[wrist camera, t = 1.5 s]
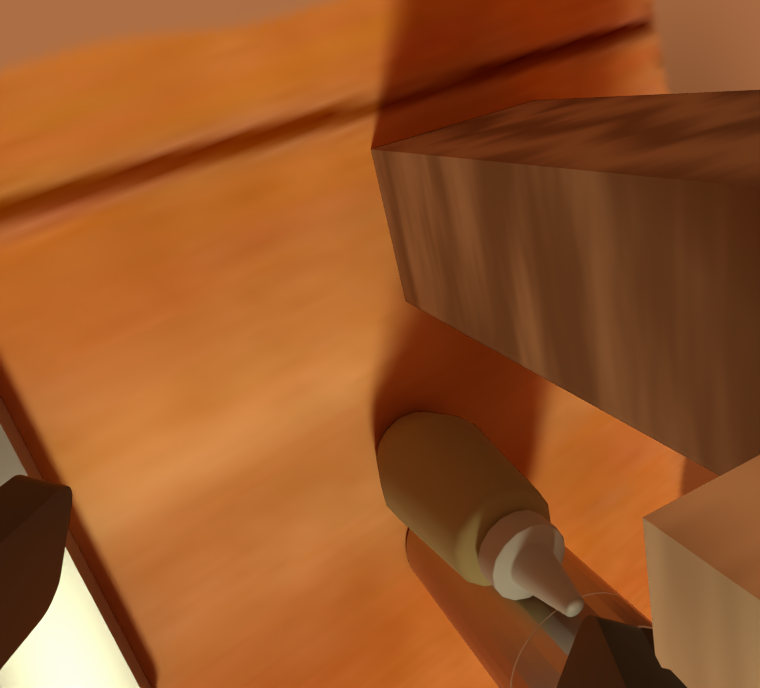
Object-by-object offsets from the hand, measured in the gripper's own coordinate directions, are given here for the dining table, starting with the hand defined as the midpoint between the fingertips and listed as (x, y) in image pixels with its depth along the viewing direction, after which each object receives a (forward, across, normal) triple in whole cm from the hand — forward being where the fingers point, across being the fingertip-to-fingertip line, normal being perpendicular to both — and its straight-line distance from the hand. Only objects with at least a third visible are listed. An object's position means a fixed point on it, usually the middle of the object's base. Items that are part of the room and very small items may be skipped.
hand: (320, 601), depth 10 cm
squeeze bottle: (+36, +5, -12) cm, 39 cm away
